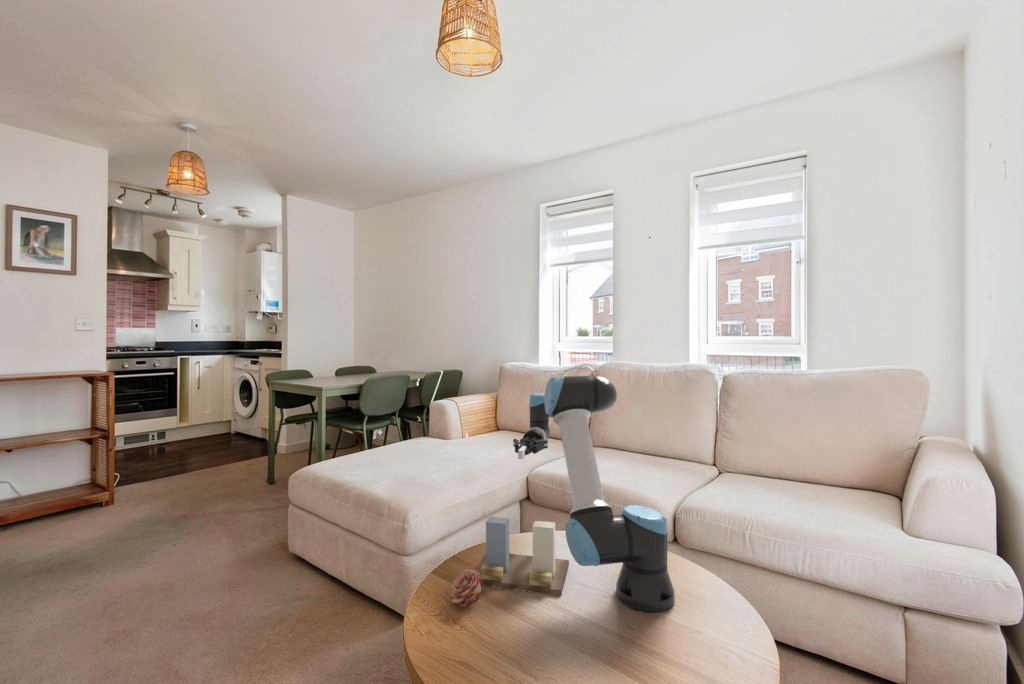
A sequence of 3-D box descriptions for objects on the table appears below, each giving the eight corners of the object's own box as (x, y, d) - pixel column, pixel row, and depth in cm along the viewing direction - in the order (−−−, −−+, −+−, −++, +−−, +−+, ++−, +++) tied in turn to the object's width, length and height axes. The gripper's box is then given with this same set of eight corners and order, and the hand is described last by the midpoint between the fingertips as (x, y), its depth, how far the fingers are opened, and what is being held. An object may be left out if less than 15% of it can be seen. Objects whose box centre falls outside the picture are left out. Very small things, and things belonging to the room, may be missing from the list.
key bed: (568, 565, 140) (568, 550, 140) (561, 595, 124) (561, 579, 124) (487, 555, 147) (487, 542, 146) (470, 584, 130) (470, 568, 130)
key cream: (555, 569, 134) (555, 522, 134) (553, 577, 130) (553, 528, 130) (535, 567, 135) (535, 520, 135) (532, 574, 131) (532, 526, 131)
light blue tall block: (509, 564, 137) (509, 518, 137) (506, 571, 133) (505, 523, 133) (490, 562, 139) (490, 516, 139) (486, 569, 135) (485, 521, 135)
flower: (478, 581, 128) (462, 561, 126) (498, 587, 121) (481, 567, 119) (457, 613, 123) (439, 593, 121) (476, 622, 116) (458, 601, 114)
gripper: (551, 449, 169) (540, 467, 146) (517, 447, 172) (501, 465, 150) (551, 429, 169) (540, 444, 146) (517, 428, 172) (500, 442, 149)
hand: (520, 454), depth 148 cm, fingers closed
